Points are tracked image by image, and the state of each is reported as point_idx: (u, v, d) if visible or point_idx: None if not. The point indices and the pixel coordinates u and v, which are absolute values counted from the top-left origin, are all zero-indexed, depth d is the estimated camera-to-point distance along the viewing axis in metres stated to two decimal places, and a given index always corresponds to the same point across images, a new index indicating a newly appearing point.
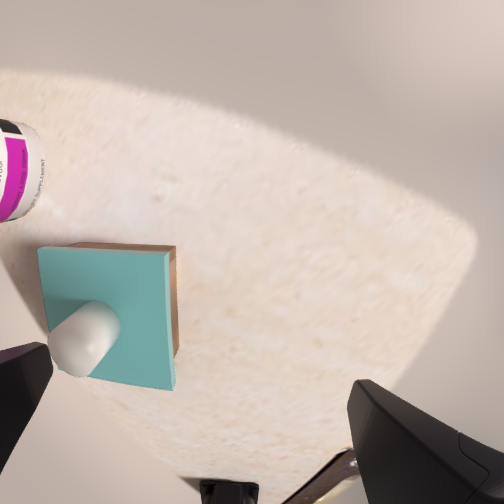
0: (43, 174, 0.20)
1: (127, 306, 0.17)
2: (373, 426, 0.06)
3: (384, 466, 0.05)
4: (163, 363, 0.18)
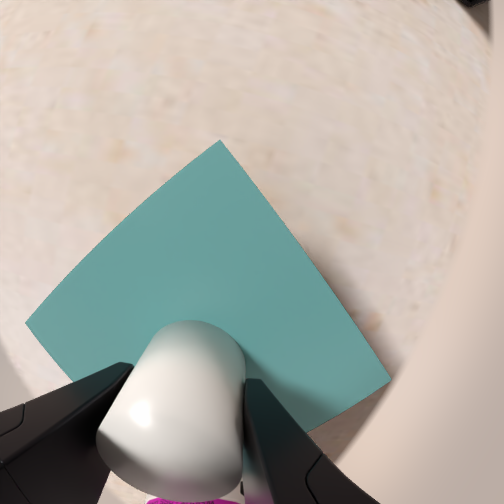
0: None
1: (118, 335, 0.09)
2: (244, 428, 0.06)
3: (249, 474, 0.05)
4: (164, 204, 0.08)
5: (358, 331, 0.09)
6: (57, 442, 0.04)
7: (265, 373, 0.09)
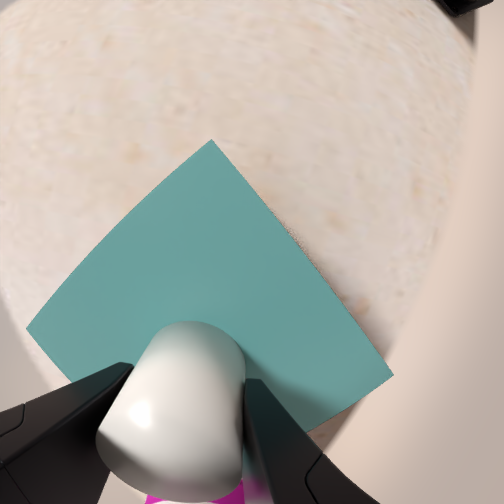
0: None
1: (118, 338, 0.09)
2: (244, 429, 0.06)
3: (248, 474, 0.05)
4: (158, 206, 0.08)
5: (358, 327, 0.09)
6: (57, 442, 0.04)
7: (265, 372, 0.09)
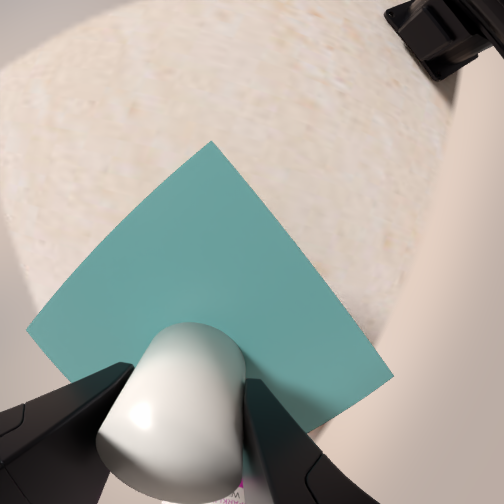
0: None
1: (118, 339, 0.09)
2: (244, 428, 0.06)
3: (248, 474, 0.05)
4: (158, 207, 0.08)
5: (358, 328, 0.09)
6: (57, 442, 0.04)
7: (265, 373, 0.09)
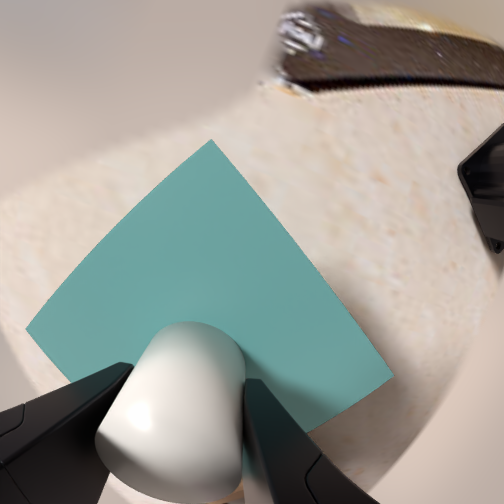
0: None
1: (118, 338, 0.09)
2: (244, 429, 0.06)
3: (248, 474, 0.05)
4: (157, 206, 0.08)
5: (358, 327, 0.09)
6: (57, 442, 0.04)
7: (265, 372, 0.09)
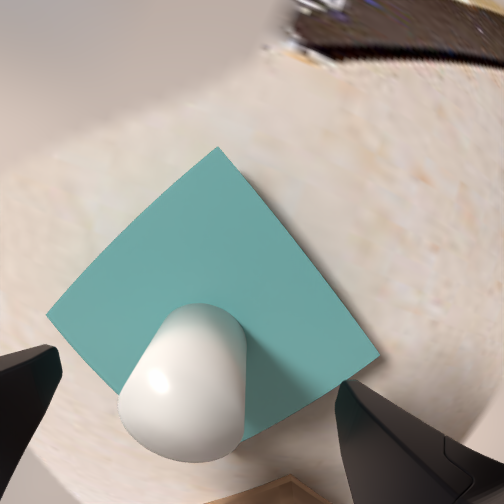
0: None
1: (133, 320, 0.10)
2: (358, 427, 0.06)
3: (369, 468, 0.05)
4: (171, 203, 0.09)
5: (345, 309, 0.10)
6: None
7: (264, 349, 0.10)
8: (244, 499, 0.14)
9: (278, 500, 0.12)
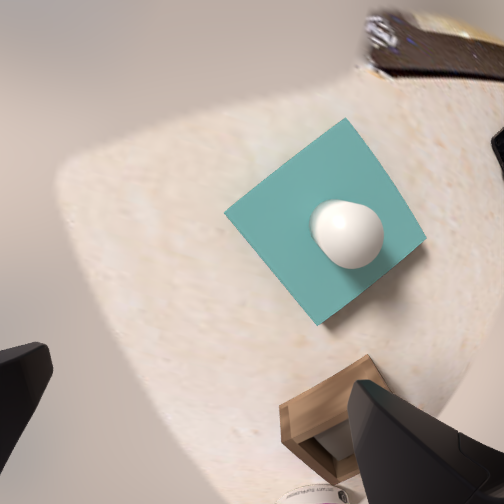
0: (296, 492, 0.24)
1: (294, 210, 0.18)
2: (373, 426, 0.06)
3: (384, 466, 0.05)
4: (322, 143, 0.17)
5: (407, 207, 0.17)
6: None
7: None
8: (333, 381, 0.21)
9: (363, 372, 0.20)
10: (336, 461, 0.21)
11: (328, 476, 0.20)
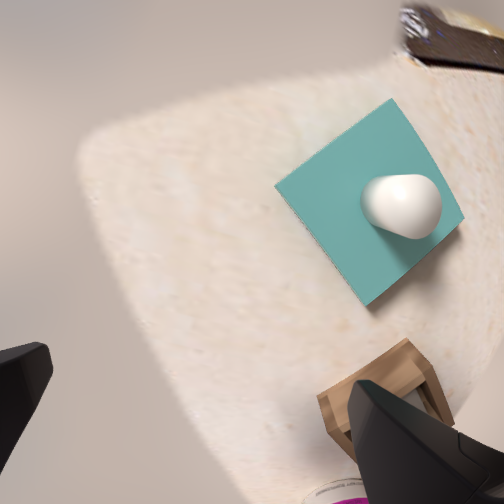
0: (326, 489, 0.23)
1: (346, 186, 0.17)
2: (373, 426, 0.06)
3: (384, 466, 0.05)
4: (371, 121, 0.16)
5: (448, 187, 0.17)
6: None
7: None
8: (374, 366, 0.20)
9: (405, 354, 0.19)
10: None
11: None
